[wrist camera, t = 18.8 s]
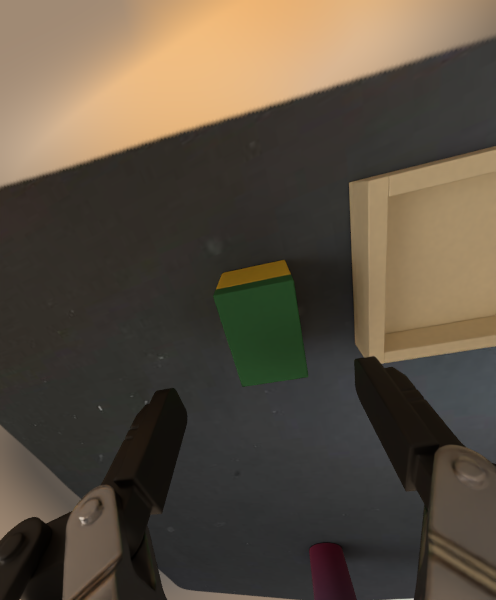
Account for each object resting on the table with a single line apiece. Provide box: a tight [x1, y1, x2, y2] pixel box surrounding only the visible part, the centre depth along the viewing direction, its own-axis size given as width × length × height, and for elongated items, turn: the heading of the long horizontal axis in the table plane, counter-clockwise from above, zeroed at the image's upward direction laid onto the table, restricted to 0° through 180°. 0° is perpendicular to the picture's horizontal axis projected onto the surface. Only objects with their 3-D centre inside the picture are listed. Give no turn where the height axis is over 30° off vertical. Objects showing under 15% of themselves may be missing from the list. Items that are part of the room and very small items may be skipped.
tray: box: [349, 146, 496, 364], centre depth 14 cm, size 16×12×3 cm
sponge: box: [213, 260, 308, 387], centre depth 16 cm, size 7×4×4 cm, turn 13°
